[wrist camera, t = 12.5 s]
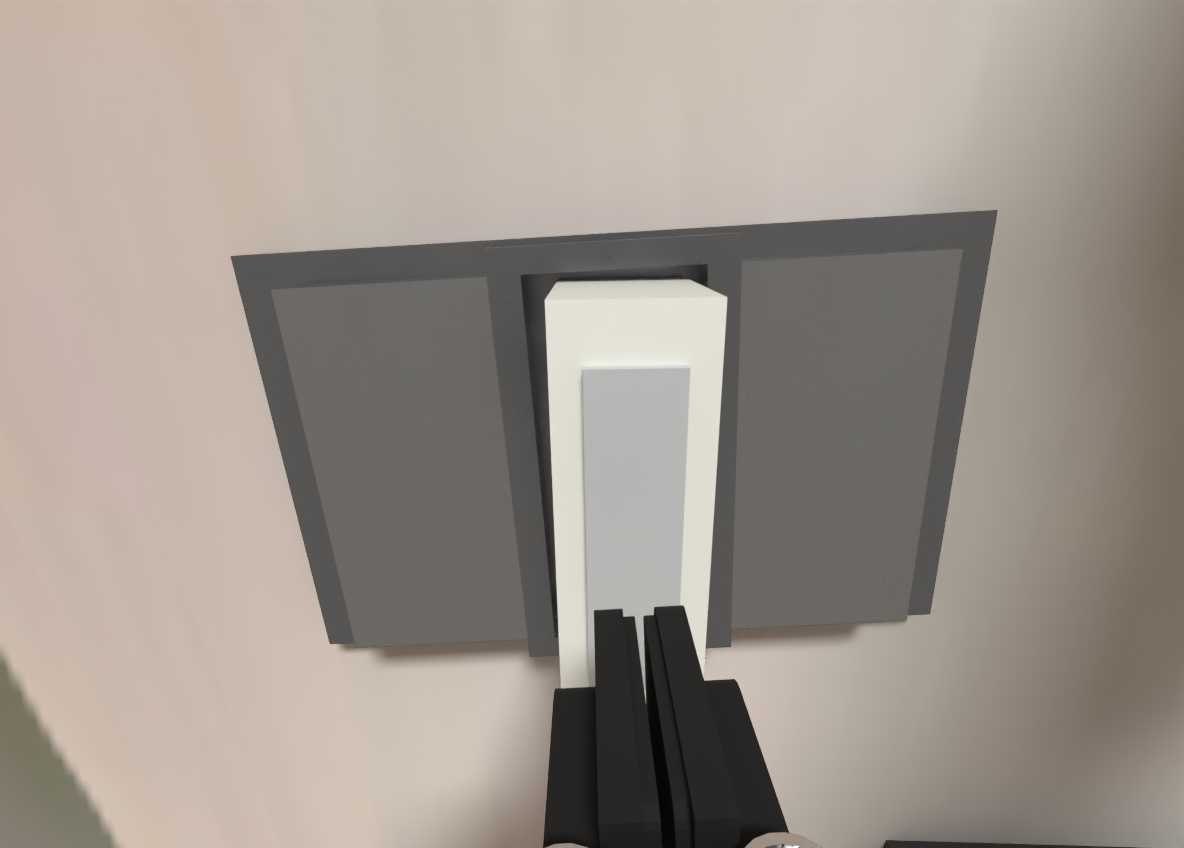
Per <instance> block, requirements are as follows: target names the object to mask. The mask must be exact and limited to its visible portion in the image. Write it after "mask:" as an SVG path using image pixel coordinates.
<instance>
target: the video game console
mask: <svg viewBox="0 0 1184 848" xmlns="http://www.w3.org/2000/svg"><path fill="white" fill-rule="evenodd" d="M884 848H1135V847H1100V846H1066V845H1031V844H997V843H962V842H928V841H894V840H886V843H885V846H884Z"/></svg>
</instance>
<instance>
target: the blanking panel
mask: <svg viewBox="0 0 1184 848" xmlns="http://www.w3.org/2000/svg"><path fill="white" fill-rule="evenodd" d="M726 313H727V297H726V296H724V295H722V294H720V293H718V292H715V291H713V290H711V289H709V288H707V287H705V286H703V285H700V284H698V283H696V282H694V281H692V280H690V279H688V278H685V277H632V278H569V279H558V281H557V282H556V284H555V285H554V287H553V288H552V290H551V291H550V293H549V294H548V296H547V297H546V299H545V321H546V345H547V369H548V393H549V417H550V440H551V464H552V488H553V512H554V536H555V560H556V584H557V608H558V632H559V656H560V680H561V688H580V687H595V642H594V610H605V609H623V617H627V616H635V623H636V630H637V638H638V646H639V654H640V661H641V669H642V677H643V685H644V692H645V700H646V684H645V653H644V623H643V617H644V616H645V615H654V607H660V606H679V605H683V606H684V608H685V611H686V615H687V618H688V622H689V626H690V630H691V633H692V637H693V641H694V645H695V648H696V652H697V656H698V660H699V663H700V667H701V671H702V674H703V678H704V665H705V649H706V633H707V617H708V601H709V585H710V569H711V553H712V537H713V521H714V505H715V489H716V473H717V457H718V441H719V425H720V409H721V393H722V377H723V361H724V345H725V329H726Z"/></svg>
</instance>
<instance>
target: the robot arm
mask: <svg viewBox="0 0 1184 848" xmlns="http://www.w3.org/2000/svg"><path fill="white" fill-rule="evenodd" d="M643 623H644V653H645V684H646V700H645V692H644V685H643V677H642V669H641V661H640V654H639V646H638V638H637V630H636V623H635V616H627V617H623V609H605V610H594V642H595V687H580V688H561V689H555V692H554V701H553V715H552V729H551V744H550V758H549V772H548V786H547V801H546V815H545V829H544V843H543V848H822V847H821V846H819V845H817V844H815V843H814V842H812V841H810V840H808V839H806V838H805V837H802V836H798V835H794V834H790V833H789V831H788V828H787V825H786V822H785V819H784V816H783V813H782V810H781V808H780V805H779V802H778V799H777V796H776V793H775V790H774V787H773V784H772V781H771V778H770V775H769V772H768V770H767V767H766V764H765V761H764V758H763V755H762V752H761V749H760V746H759V743H758V740H757V737H756V734H755V731H754V729H753V726H752V723H751V720H750V717H749V714H748V711H747V708H746V705H745V702H744V699H743V696H742V693H741V691H740V688H739V686H738V683H737V682H736V680H735V679H730V680H711V681H704V678H703V674H702V671H701V667H700V663H699V660H698V656H697V652H696V648H695V645H694V641H693V637H692V633H691V630H690V626H689V622H688V618H687V615H686V611H685V608H684V606H683V605H679V606H660V607H654V615H645V616H644V617H643Z"/></svg>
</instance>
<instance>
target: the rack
mask: <svg viewBox="0 0 1184 848" xmlns="http://www.w3.org/2000/svg"><path fill="white" fill-rule="evenodd" d="M997 211H998V210H991V211H973V212H956V213H940V214H923V215H906V216H890V217H873V218H856V219H840V220H823V221H806V222H790V223H773V224H756V225H740V226H723V227H706V228H690V229H673V230H656V231H640V232H623V233H606V234H590V235H573V236H556V237H540V238H523V239H506V240H490V241H473V242H456V243H440V244H423V245H406V246H390V247H373V248H356V249H340V250H323V251H306V252H290V253H273V254H256V255H241V256H231V259H232V263H233V267H234V271H235V275H236V279H237V283H238V287H239V291H240V295H241V299H242V302H243V306H244V310H245V314H246V318H247V322H248V326H249V330H250V334H251V338H252V342H253V345H254V349H255V353H256V357H257V361H258V365H259V369H260V373H261V377H262V381H263V385H264V388H265V392H266V396H267V400H268V404H269V408H270V412H271V416H272V420H273V424H274V428H275V431H276V435H277V439H278V443H279V447H280V451H281V455H282V459H283V463H284V467H285V470H286V474H287V478H288V482H289V486H290V490H291V494H292V498H293V502H294V506H295V510H296V513H297V517H298V521H299V525H300V529H301V533H302V537H303V541H304V545H305V549H306V553H307V556H308V560H309V564H310V568H311V572H312V576H313V580H314V584H315V588H316V592H317V596H318V599H319V603H320V607H321V611H322V615H323V619H324V623H325V627H326V631H327V635H328V639H329V642H330V644H343V643H355V646H356V648H363V647H383V646H403V645H424V644H444V643H464V642H484V641H504V640H524V639H528V645H529V653H530V657H536V656H557V655H559V632H558V608H557V584H556V560H555V536H554V512H553V488H552V464H551V440H550V417H549V393H548V369H547V345H546V321H545V299H546V297H547V296H548V294H549V293H550V291H551V290H552V288H553V287H554V285H555V284H556V282H557V281H558V279H569V278H632V277H685V278H688V279H690V280H692V281H694V282H696V283H698V284H700V285H703V286H705V287H707V288H709V289H711V290H713V291H715V292H718V293H720V294H722V295H724V296H726V297H727V313H726V329H725V345H724V361H723V377H722V393H721V409H720V425H719V441H718V457H717V473H716V489H715V505H714V521H713V537H712V553H711V569H710V585H709V601H708V617H707V633H706V648H719V647H731V629H745V628H765V627H785V626H805V625H825V624H845V623H866V622H886V621H906V620H907V615H924V614H930V611H931V605H932V599H933V593H934V587H935V581H936V575H937V569H938V563H939V557H940V551H941V545H942V539H943V533H944V527H945V521H946V515H947V509H948V503H949V497H950V491H951V485H952V479H953V473H954V467H955V461H956V455H957V449H958V443H959V437H960V432H961V426H962V420H963V414H964V408H965V402H966V396H967V390H968V384H969V378H970V372H971V366H972V360H973V354H974V348H975V342H976V336H977V330H978V324H979V318H980V312H981V306H982V300H983V294H984V288H985V282H986V276H987V270H988V264H989V258H990V252H991V246H992V240H993V234H994V228H995V222H996V217H997Z"/></svg>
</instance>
